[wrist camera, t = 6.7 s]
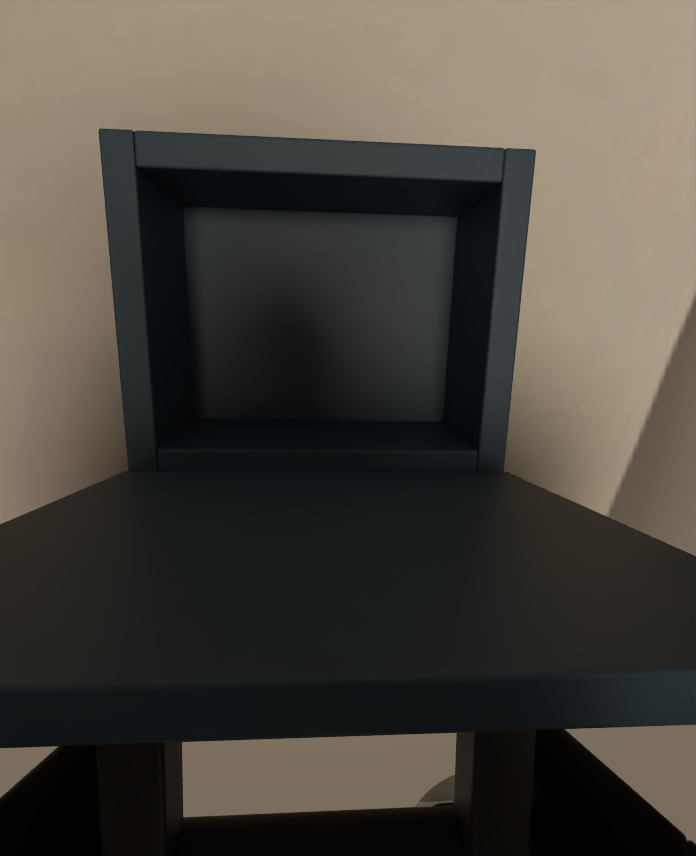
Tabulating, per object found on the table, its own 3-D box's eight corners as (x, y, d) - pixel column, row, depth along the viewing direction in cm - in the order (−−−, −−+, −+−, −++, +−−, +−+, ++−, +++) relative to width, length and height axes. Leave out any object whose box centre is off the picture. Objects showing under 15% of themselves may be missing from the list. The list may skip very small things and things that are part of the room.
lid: (-419, 699, 3) (-348, 1236, 4) (944, 664, 4) (885, 1120, 4) (123, 471, 12) (127, 631, 13) (508, 472, 13) (501, 624, 14)
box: (164, 186, 16) (97, 127, 11) (474, 198, 16) (537, 148, 12) (179, 435, 17) (128, 476, 13) (456, 436, 18) (503, 477, 13)
